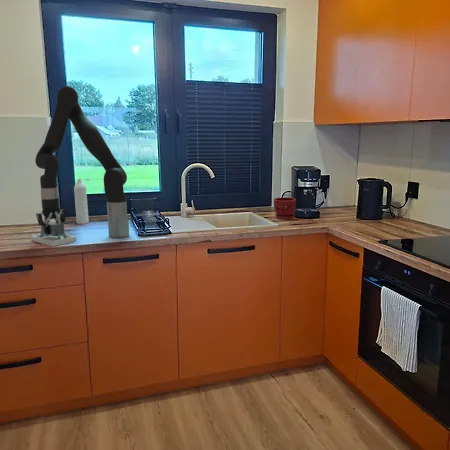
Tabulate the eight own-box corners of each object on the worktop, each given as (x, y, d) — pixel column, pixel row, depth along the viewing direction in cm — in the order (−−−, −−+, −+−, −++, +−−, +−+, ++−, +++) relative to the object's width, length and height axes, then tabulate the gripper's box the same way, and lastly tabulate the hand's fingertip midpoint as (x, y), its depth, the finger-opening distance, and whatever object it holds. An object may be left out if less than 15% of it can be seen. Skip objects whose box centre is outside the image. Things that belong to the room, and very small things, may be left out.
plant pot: (282, 215, 257) (283, 196, 255) (299, 218, 248) (300, 198, 245) (268, 218, 249) (269, 198, 246) (285, 221, 239) (286, 201, 237)
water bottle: (75, 224, 231) (72, 179, 226) (77, 221, 237) (74, 178, 232) (92, 223, 233) (89, 179, 227) (93, 221, 239) (90, 177, 233)
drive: (64, 234, 194) (63, 223, 193) (55, 236, 190) (54, 225, 189) (51, 231, 199) (50, 221, 198) (41, 233, 195) (40, 223, 194)
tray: (76, 241, 194) (75, 232, 193) (52, 246, 185) (51, 237, 184) (55, 235, 205) (54, 227, 204) (31, 240, 196) (30, 231, 195)
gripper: (59, 194, 199) (62, 229, 202) (30, 198, 188) (34, 234, 191) (68, 196, 194) (71, 231, 198) (39, 200, 183) (42, 237, 187)
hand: (53, 232), depth 195 cm, fingers closed on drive, 5 cm apart
